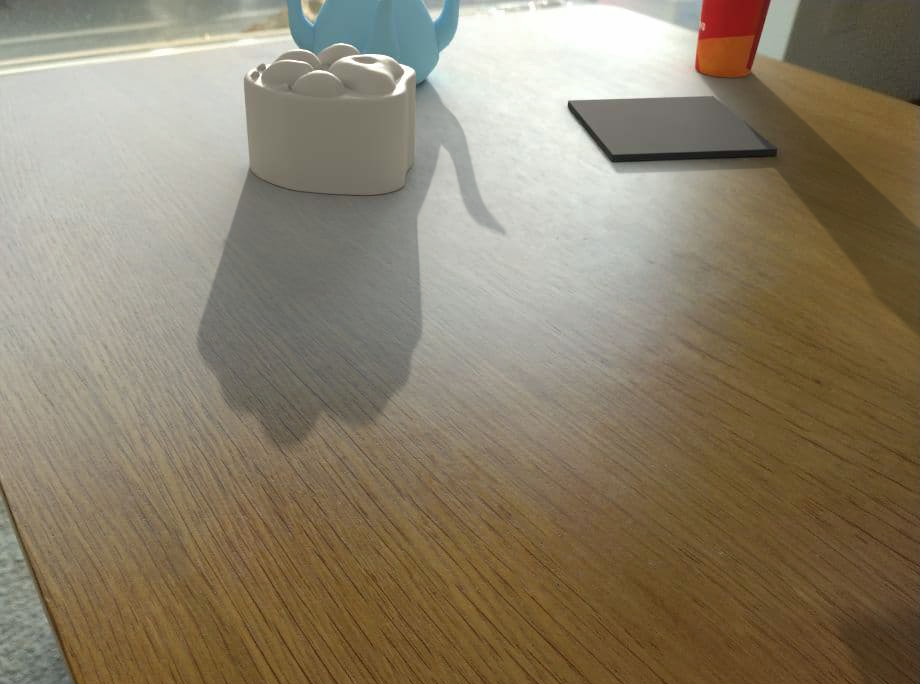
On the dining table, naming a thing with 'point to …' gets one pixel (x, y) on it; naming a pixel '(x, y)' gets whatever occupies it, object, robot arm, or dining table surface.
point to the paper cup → (729, 36)
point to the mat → (668, 129)
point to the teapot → (378, 29)
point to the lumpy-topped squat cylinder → (331, 121)
